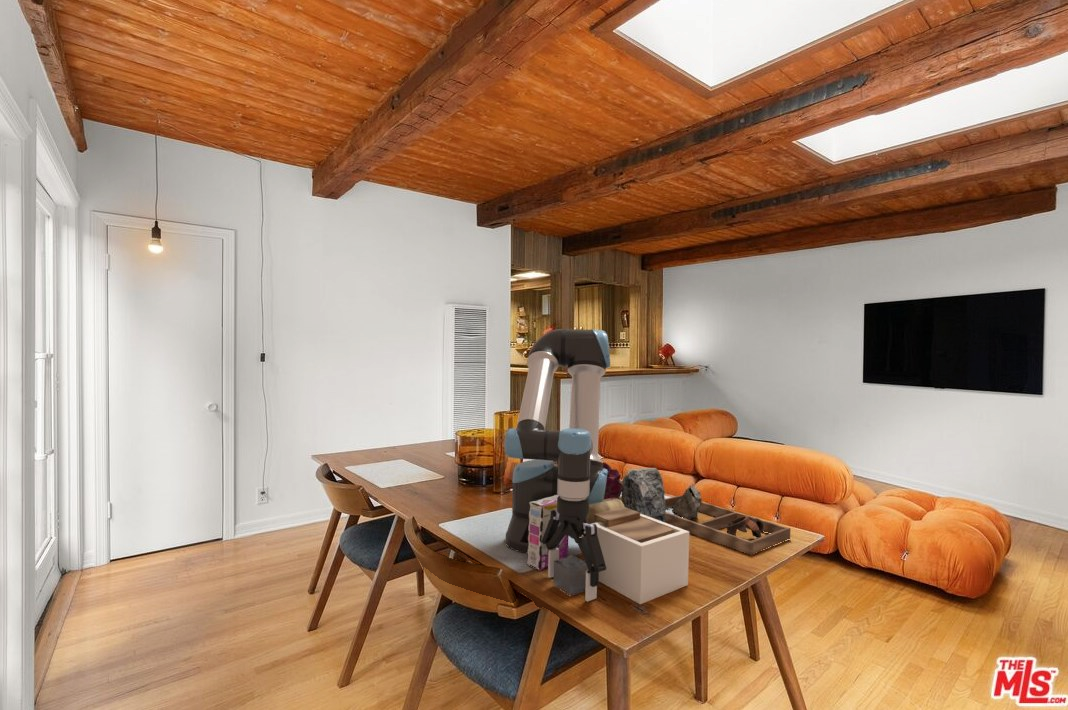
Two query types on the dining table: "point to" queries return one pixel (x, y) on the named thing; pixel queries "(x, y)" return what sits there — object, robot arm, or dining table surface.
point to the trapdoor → (626, 521)
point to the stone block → (644, 492)
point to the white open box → (644, 562)
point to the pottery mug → (741, 524)
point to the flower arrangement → (611, 483)
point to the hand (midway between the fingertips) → (571, 587)
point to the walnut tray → (724, 517)
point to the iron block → (570, 575)
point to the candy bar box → (542, 533)
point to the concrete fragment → (688, 503)
